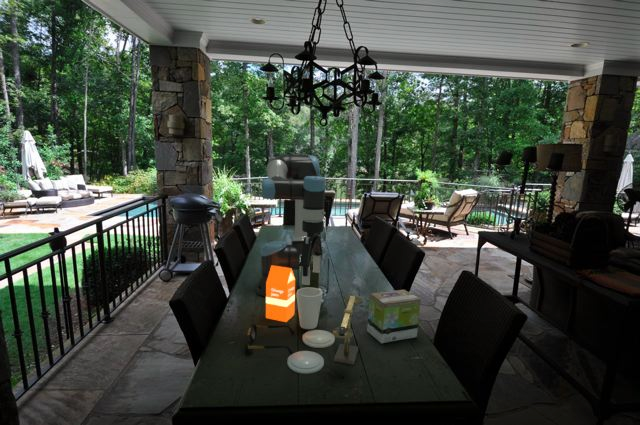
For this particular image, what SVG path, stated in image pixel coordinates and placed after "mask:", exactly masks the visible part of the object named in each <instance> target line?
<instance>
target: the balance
mask: <svg viewBox="0 0 640 425" xmlns="http://www.w3.org/2000/svg"><path fill="white" fill-rule="evenodd" d="M343 302H344V303H345V304H347V306H346V308H344V311H343V319H342V322H341V325H340V326H338V327H335V328H333V330H332V334H333V335H334V337H335V338H338V339H340V340H341V339H343V340H344V343H339V345H338V348H337V350H336V353H335V355H334V358H333V362H334V363H341V364H344V365H345V364H346V365H354V364H355V360H356V358H357V355H358V351H359V346H356V345H350V343H351V339H350V338H352V337H353V336H354V334H355V333H354V330H353V329H351V320H352V317H353V314H354V305H361V304H362V303H363V298H361V297H359V296H355V295H348V296H345V297H344V298H343Z"/></svg>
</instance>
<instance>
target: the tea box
mask: <svg viewBox="0 0 640 425" xmlns="http://www.w3.org/2000/svg"><path fill="white" fill-rule="evenodd" d="M420 307H421V298H419V297H418V296H416V295H415V294H413V293H412V292H409V291H407V290H406V289H398V290H397V289H396V290H389V291H388V290H387V291H379V292H373V293H370V295H369V305H368V314H367V315H368V318H367V328H366V329H367V330H366V331H367V332H368V333H369V334H370V335H371V336H372V337H373V338H374V339H375V340H376V341H378V342H379V343H380V344H385V343H391V342H396V341H402V340H408V339H414V338H415V339H416V338H417V337H418V329H419V319H420V318H419V317H420V310H421V308H420Z"/></svg>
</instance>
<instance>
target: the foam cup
mask: <svg viewBox="0 0 640 425" xmlns="http://www.w3.org/2000/svg"><path fill="white" fill-rule="evenodd" d="M323 293H324V292H323V290H321V289H320V288H317V287H311V286H310V287H307V286H306V287H300V288H299V289H297V291H296V295H295V299H296V301H297V311H298V318H299V326H300V328H302V329H304V330H315V329H317V327H318V323H319V322H318V321H319V318H320V311H321V310H320V309H321V305H322V304H321V303H322V300H323Z"/></svg>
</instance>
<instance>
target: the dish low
mask: <svg viewBox="0 0 640 425" xmlns="http://www.w3.org/2000/svg"><path fill="white" fill-rule="evenodd" d="M286 362H287V367H288V368H289V369H290V370H291V371H292V372H294V373H298V374H302V375H303V374H305V375H308V374H315V373H317V372H319V371H321V370H322V369H323V367H324V364H325V358H323V356H322V355H321V354H319V353H317V352H314V351H312V350H311V351H310V350H300V351H297V352H293V354H292V355H290V354H289V356H288V357H287V361H286Z"/></svg>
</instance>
